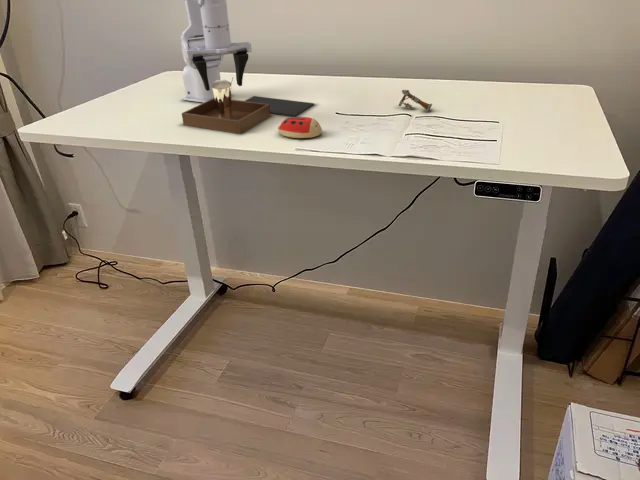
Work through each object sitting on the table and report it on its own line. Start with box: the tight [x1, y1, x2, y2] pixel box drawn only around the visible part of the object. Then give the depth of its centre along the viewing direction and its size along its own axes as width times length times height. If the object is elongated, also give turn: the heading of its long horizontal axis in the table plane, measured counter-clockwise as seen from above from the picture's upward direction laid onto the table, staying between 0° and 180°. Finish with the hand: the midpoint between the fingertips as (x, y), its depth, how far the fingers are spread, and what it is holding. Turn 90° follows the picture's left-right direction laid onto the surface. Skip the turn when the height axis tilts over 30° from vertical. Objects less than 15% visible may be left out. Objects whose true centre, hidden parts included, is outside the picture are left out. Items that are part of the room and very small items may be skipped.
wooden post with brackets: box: [398, 89, 433, 113], centre depth 136 cm, size 2×8×4 cm, turn 62°
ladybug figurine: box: [277, 116, 323, 139], centre depth 124 cm, size 7×10×4 cm
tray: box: [181, 98, 272, 135], centre depth 134 cm, size 16×13×3 cm
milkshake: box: [212, 77, 234, 119], centre depth 132 cm, size 5×5×10 cm
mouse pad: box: [245, 95, 315, 117], centre depth 142 cm, size 18×10×1 cm, turn 63°
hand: (223, 87), depth 130 cm, fingers open, 7 cm apart
